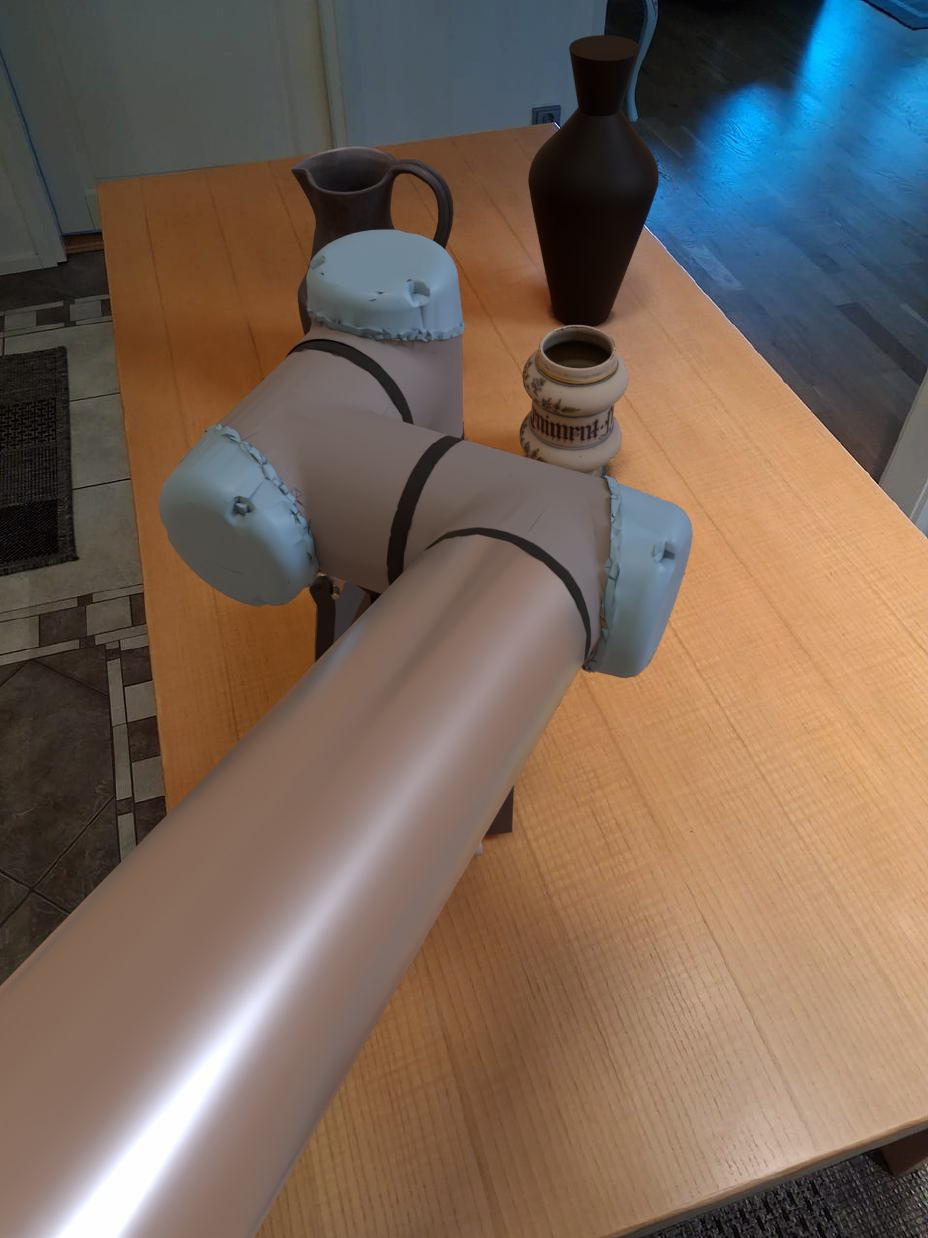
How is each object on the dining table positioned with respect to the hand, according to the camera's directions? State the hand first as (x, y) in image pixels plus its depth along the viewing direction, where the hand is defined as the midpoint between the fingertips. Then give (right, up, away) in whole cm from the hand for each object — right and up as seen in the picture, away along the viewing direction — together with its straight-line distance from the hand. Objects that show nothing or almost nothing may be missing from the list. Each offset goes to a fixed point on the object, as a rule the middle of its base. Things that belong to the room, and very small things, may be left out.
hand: (425, 706), depth 72 cm
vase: (+21, +53, +62) cm, 84 cm away
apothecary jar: (+16, +25, +39) cm, 49 cm away
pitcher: (-8, +40, +52) cm, 66 cm away
